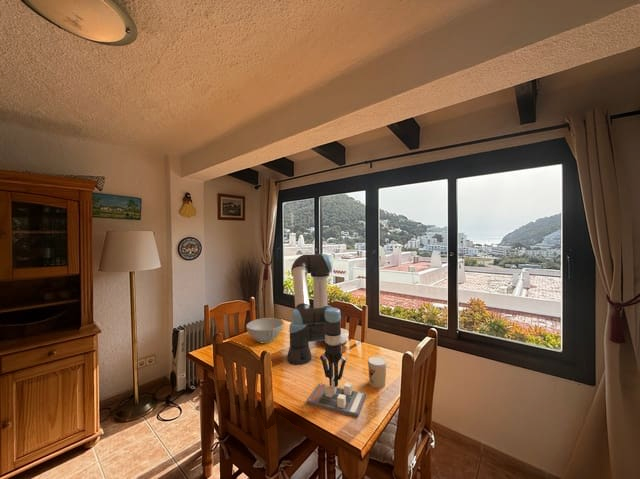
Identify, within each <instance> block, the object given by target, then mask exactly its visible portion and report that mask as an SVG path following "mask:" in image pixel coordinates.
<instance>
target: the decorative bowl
mask: <svg viewBox="0 0 640 479" xmlns="http://www.w3.org/2000/svg"><path fill="white" fill-rule="evenodd" d="M245 327H246V330H247V333H248V334H249V336H250V338H252V339H253V340H255V341H256V342H257V341H258V342H263V343H262V344H267V343H266V342H269V343H271V342H270V341H272V340H273V341H274V340H275V339H276V338H277V337H278V336H279V334H281V332H282V330H283V327H284V321H283V320H282V319H281V318H278V317H276V318H275V317H263V318H257V319H253V320H251V321H249V322H248V323H247V324H245ZM273 341H272V342H273ZM258 342H257V343H258Z"/></svg>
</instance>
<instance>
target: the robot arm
mask: <svg viewBox="0 0 640 479" xmlns="http://www.w3.org/2000/svg"><path fill="white" fill-rule="evenodd" d="M332 272H333V265H332V260H331V257H330V255H329V254H328V253H316V254H314V253H313V254H302V255H300V256H298V257H297V258H296V259H295V260H294V261H293V263H292V265H291V271H290V274H291V276H292V277H293V278H292V279H293V280H292V281H293V294H294V307H295V309H292V310H291V321H292V322H290V324H289V330H288V332H289V349H288V351H287V355H286V357H287V358H286V360H287V362H288V363H290V364H292V365H304V364H307V363H309V362H311V360H312V359H313V358H312V356H313V355H312V352H311V349H310V346H309V345H310V344H309V343H311V342H325V343H324V350H325V352H323V353H322V354H321V355H320V356H319V359H320V360H321V363H322V367H323V372H324V376H325V378H328V379H329V383H328V384H330V386H331V393H332V394H334V395H335V393H336V387H338V386H339V381H341V379H342V377H343V374H344V369H345V365H346V363H347V361H348V358H347V357H344V356H343V353H342V344H341V327H342V324H341V323H342V316H341V314H342V313H341V309H339V308H338V307H332V306H331V305H329V304H328V277H330V273H332ZM308 274H310V277H311V278H312V282H313V285H312V288H313V291H312V292H313V294H312V295H313V307H311V304H310V296H309V288H308V278H307V275H308ZM339 362H340V368H339Z"/></svg>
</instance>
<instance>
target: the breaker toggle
mask: <svg viewBox="0 0 640 479" xmlns="http://www.w3.org/2000/svg"><path fill="white" fill-rule="evenodd" d="M326 385H327V386H326V387H325V396H326V397H331V398H332V396H333V394H332V393H331V386H330V384H329V383H328V384H326Z"/></svg>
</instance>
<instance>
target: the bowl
mask: <svg viewBox="0 0 640 479" xmlns="http://www.w3.org/2000/svg"><path fill="white" fill-rule="evenodd" d="M349 335H350V334H349V330H347V329H346V328H341V345H343V344H344V343H346V341H347V339H348V338H349Z"/></svg>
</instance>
